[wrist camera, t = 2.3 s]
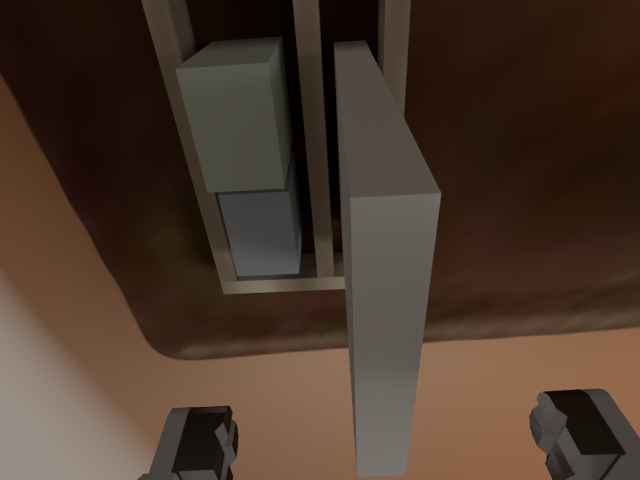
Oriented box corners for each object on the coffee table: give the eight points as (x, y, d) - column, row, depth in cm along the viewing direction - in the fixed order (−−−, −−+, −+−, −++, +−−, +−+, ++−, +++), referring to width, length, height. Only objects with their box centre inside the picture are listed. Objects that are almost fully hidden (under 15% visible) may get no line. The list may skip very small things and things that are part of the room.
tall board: (365, 40, 22) (441, 193, 8) (365, 218, 29) (405, 476, 15) (333, 42, 23) (350, 197, 8) (340, 219, 29) (356, 477, 15)
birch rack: (403, -55, 20) (414, -57, 17) (388, 261, 32) (394, 286, 29) (154, -35, 20) (131, -34, 18) (231, 268, 32) (223, 294, 30)
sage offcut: (282, 36, 22) (267, 62, 17) (293, 138, 26) (284, 188, 20) (212, 41, 23) (175, 69, 17) (232, 141, 26) (207, 192, 20)
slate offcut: (294, 152, 26) (288, 191, 22) (302, 226, 30) (299, 273, 26) (235, 155, 27) (218, 195, 22) (250, 229, 30) (237, 276, 26)
